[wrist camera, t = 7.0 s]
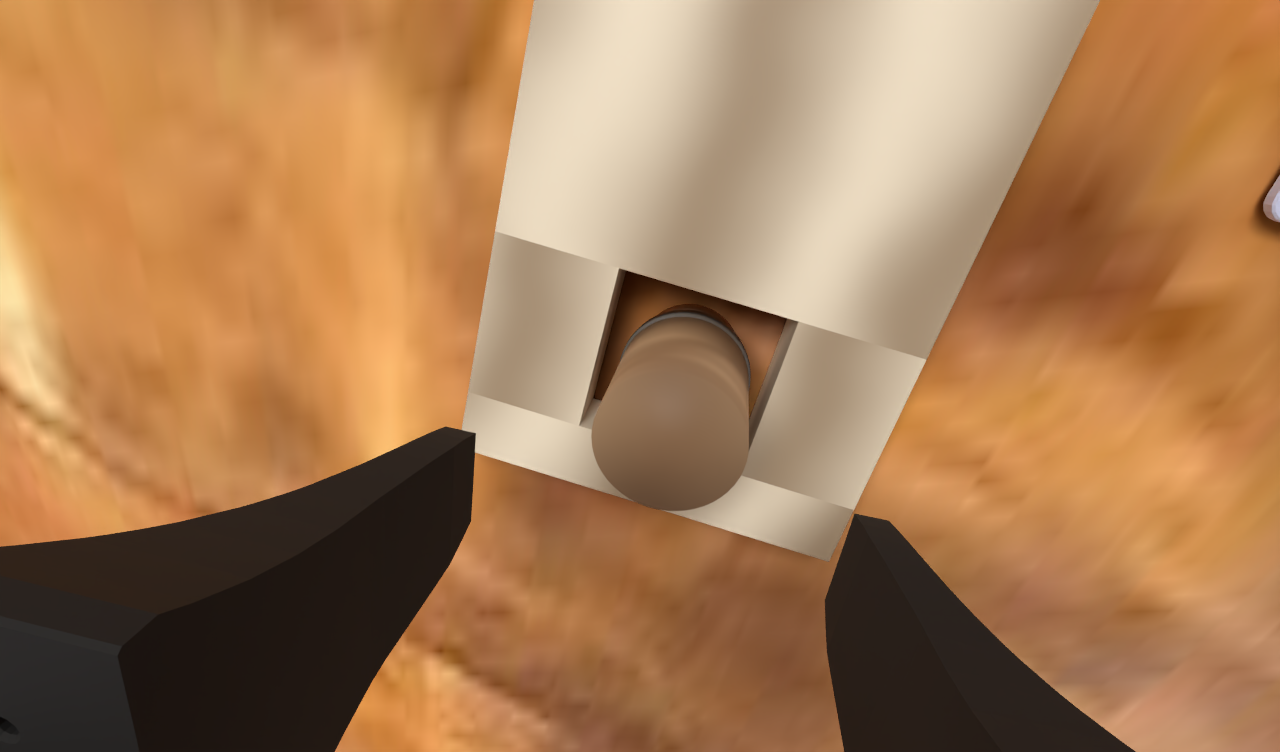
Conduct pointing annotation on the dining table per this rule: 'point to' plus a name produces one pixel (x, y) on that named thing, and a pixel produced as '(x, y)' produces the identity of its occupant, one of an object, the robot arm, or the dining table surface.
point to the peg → (676, 412)
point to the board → (756, 216)
